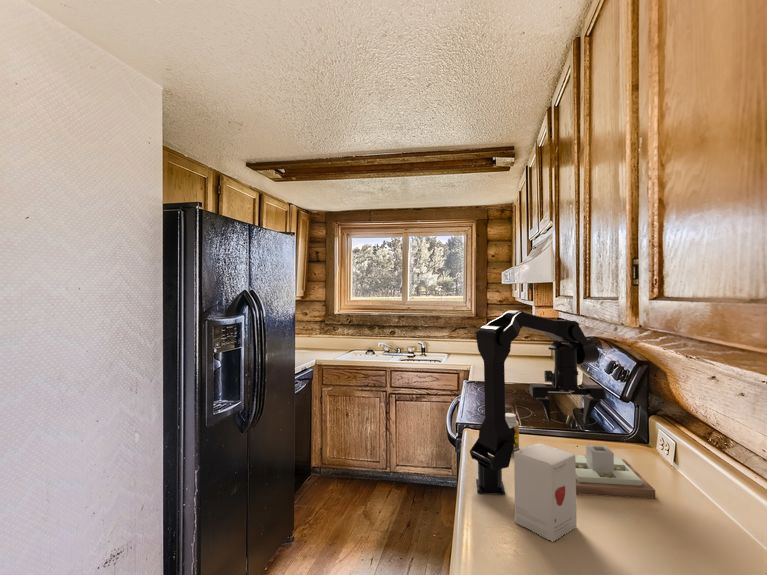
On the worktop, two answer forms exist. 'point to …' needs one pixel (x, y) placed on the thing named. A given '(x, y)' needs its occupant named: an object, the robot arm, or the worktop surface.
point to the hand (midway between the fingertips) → (567, 422)
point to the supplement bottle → (512, 422)
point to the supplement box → (545, 490)
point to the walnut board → (616, 487)
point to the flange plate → (603, 467)
